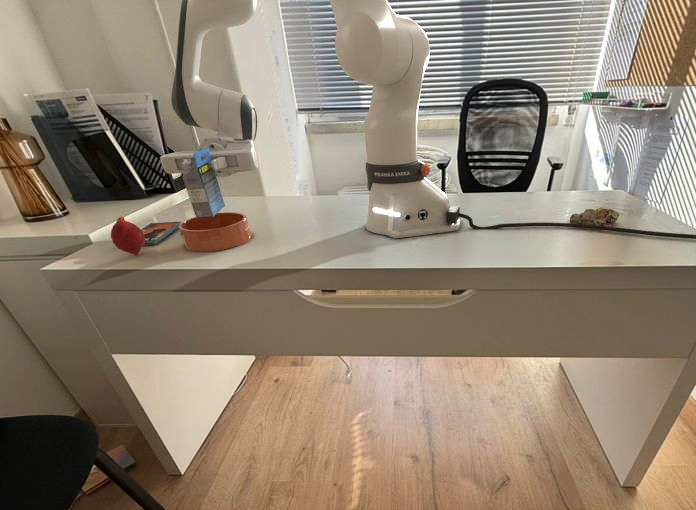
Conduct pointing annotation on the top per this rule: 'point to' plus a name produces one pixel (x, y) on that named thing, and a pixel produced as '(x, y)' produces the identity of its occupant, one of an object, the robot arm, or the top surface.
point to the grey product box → (203, 187)
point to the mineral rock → (596, 217)
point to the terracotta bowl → (215, 232)
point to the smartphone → (158, 231)
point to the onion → (127, 236)
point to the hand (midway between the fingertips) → (199, 166)
